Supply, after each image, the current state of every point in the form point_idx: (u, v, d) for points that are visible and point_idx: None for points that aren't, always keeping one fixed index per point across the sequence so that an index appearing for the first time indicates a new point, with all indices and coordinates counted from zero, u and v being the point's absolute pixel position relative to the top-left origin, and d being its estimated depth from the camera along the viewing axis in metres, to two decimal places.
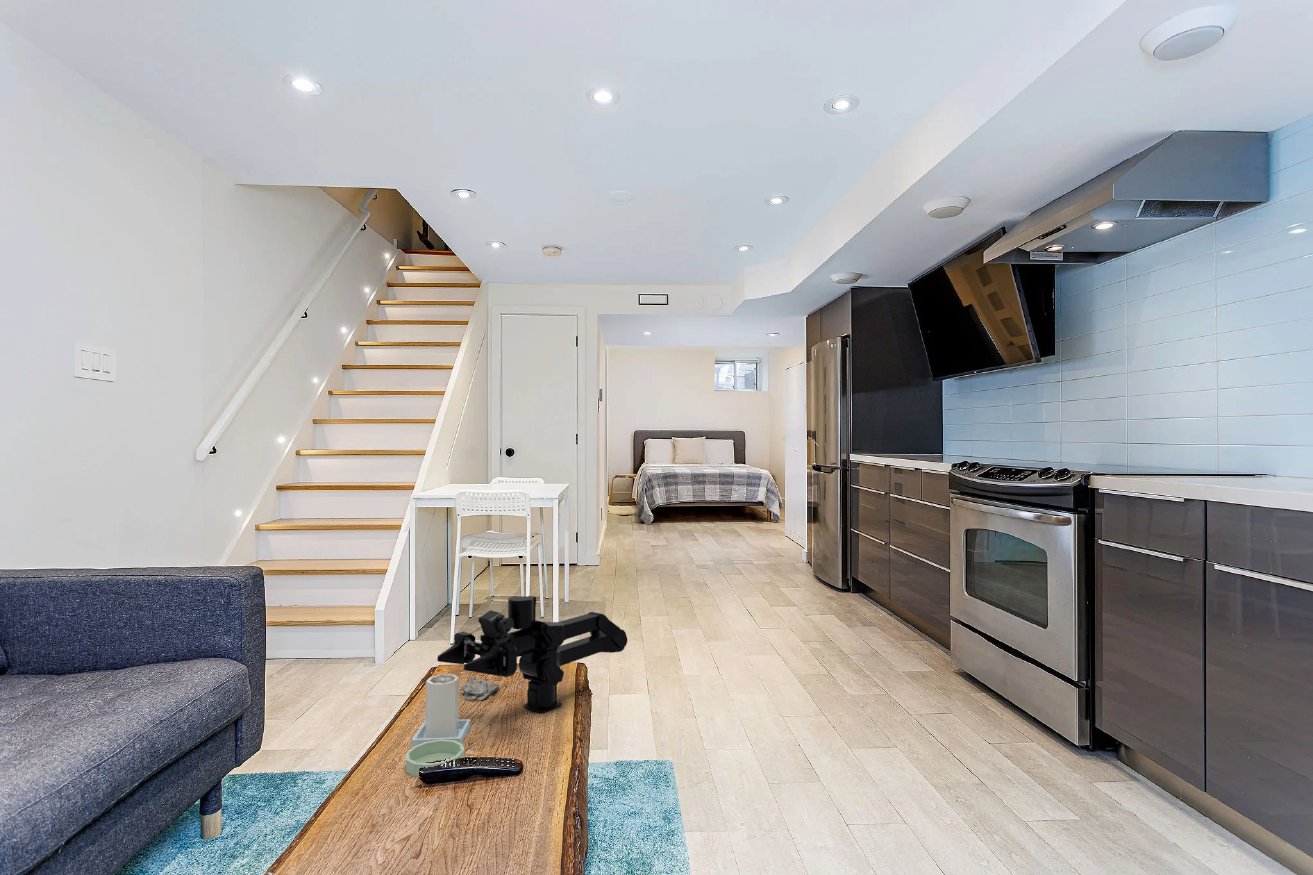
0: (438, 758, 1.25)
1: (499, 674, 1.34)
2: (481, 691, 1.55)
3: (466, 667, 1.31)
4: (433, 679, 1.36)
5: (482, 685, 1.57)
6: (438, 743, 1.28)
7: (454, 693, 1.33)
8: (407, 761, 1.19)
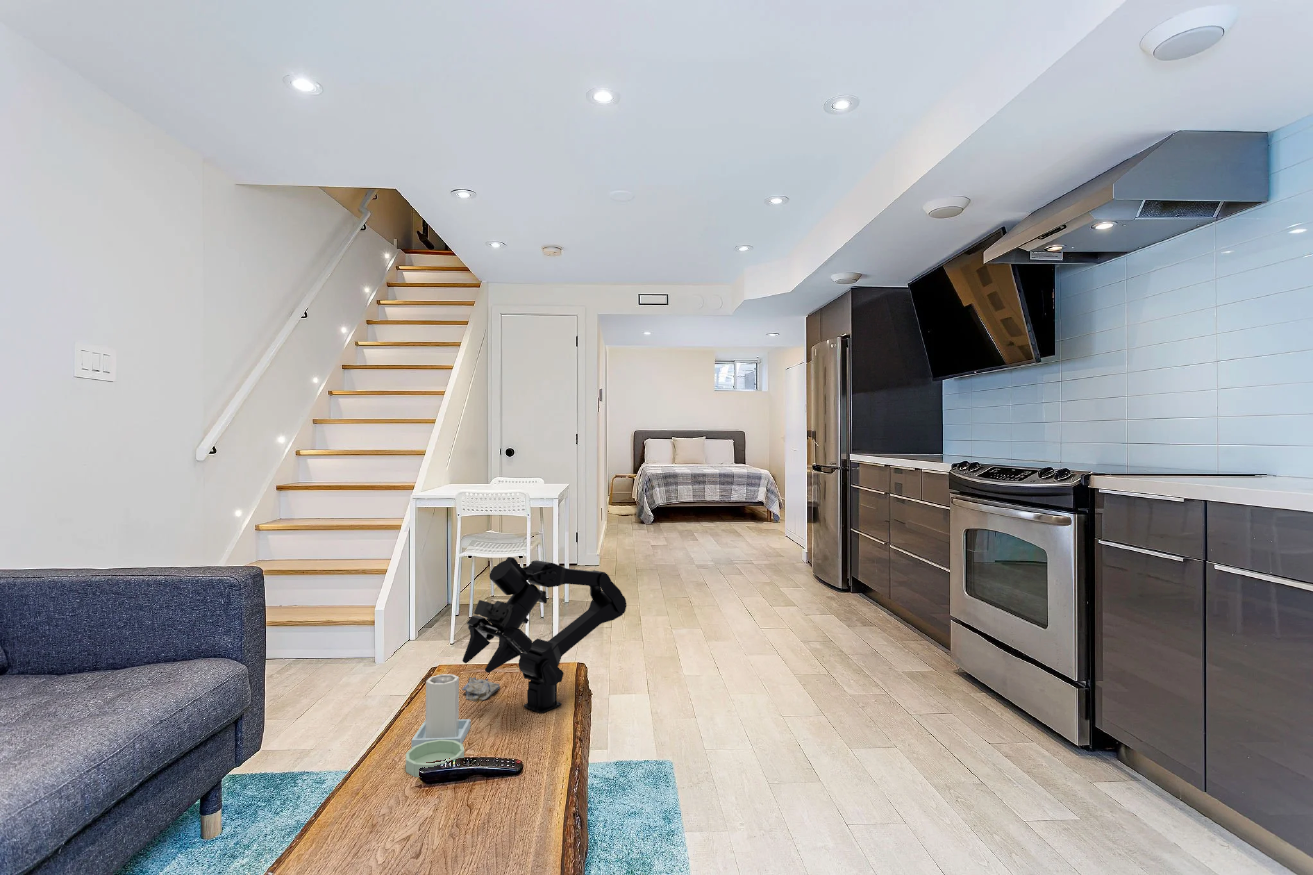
0: (438, 758, 1.25)
1: (519, 654, 1.40)
2: (483, 691, 1.55)
3: (488, 670, 1.37)
4: (433, 679, 1.36)
5: (484, 685, 1.57)
6: (438, 743, 1.28)
7: (454, 693, 1.33)
8: (407, 761, 1.19)
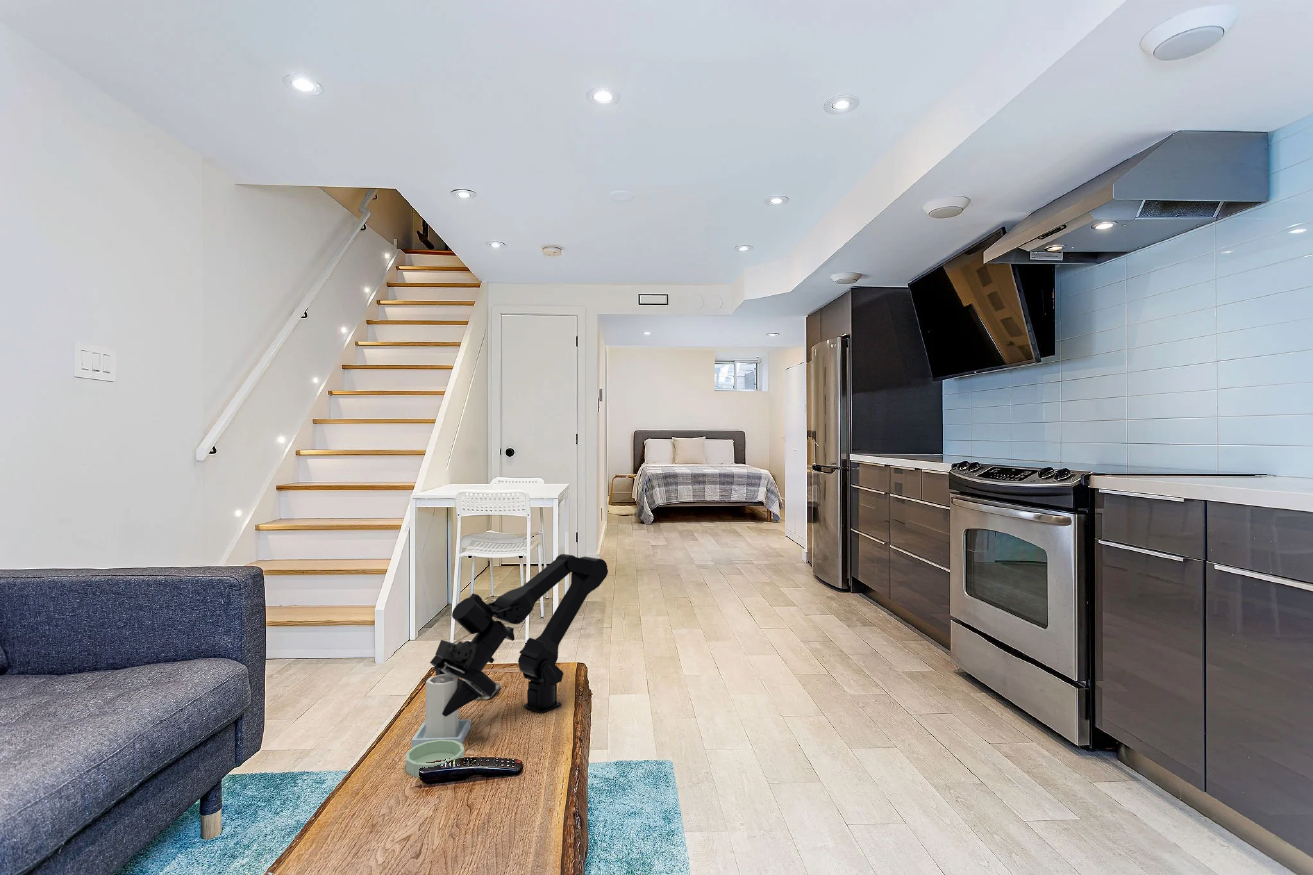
0: (438, 758, 1.25)
1: (479, 696, 1.34)
2: None
3: (445, 713, 1.31)
4: (433, 679, 1.36)
5: None
6: (438, 743, 1.28)
7: None
8: (407, 761, 1.19)
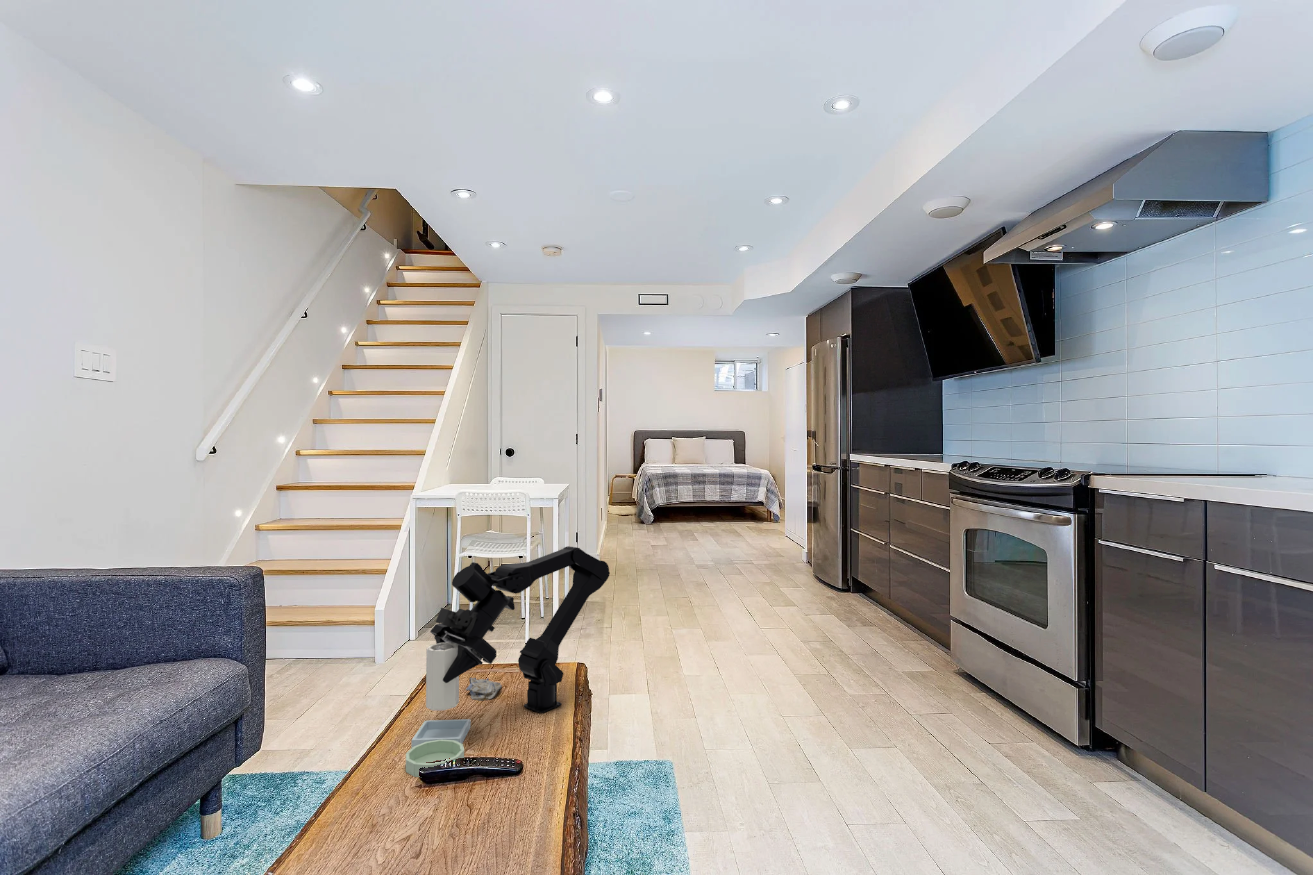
0: (438, 758, 1.25)
1: (479, 663, 1.34)
2: (489, 690, 1.56)
3: (446, 680, 1.32)
4: (433, 647, 1.36)
5: (489, 684, 1.58)
6: (438, 743, 1.28)
7: None
8: (407, 761, 1.19)
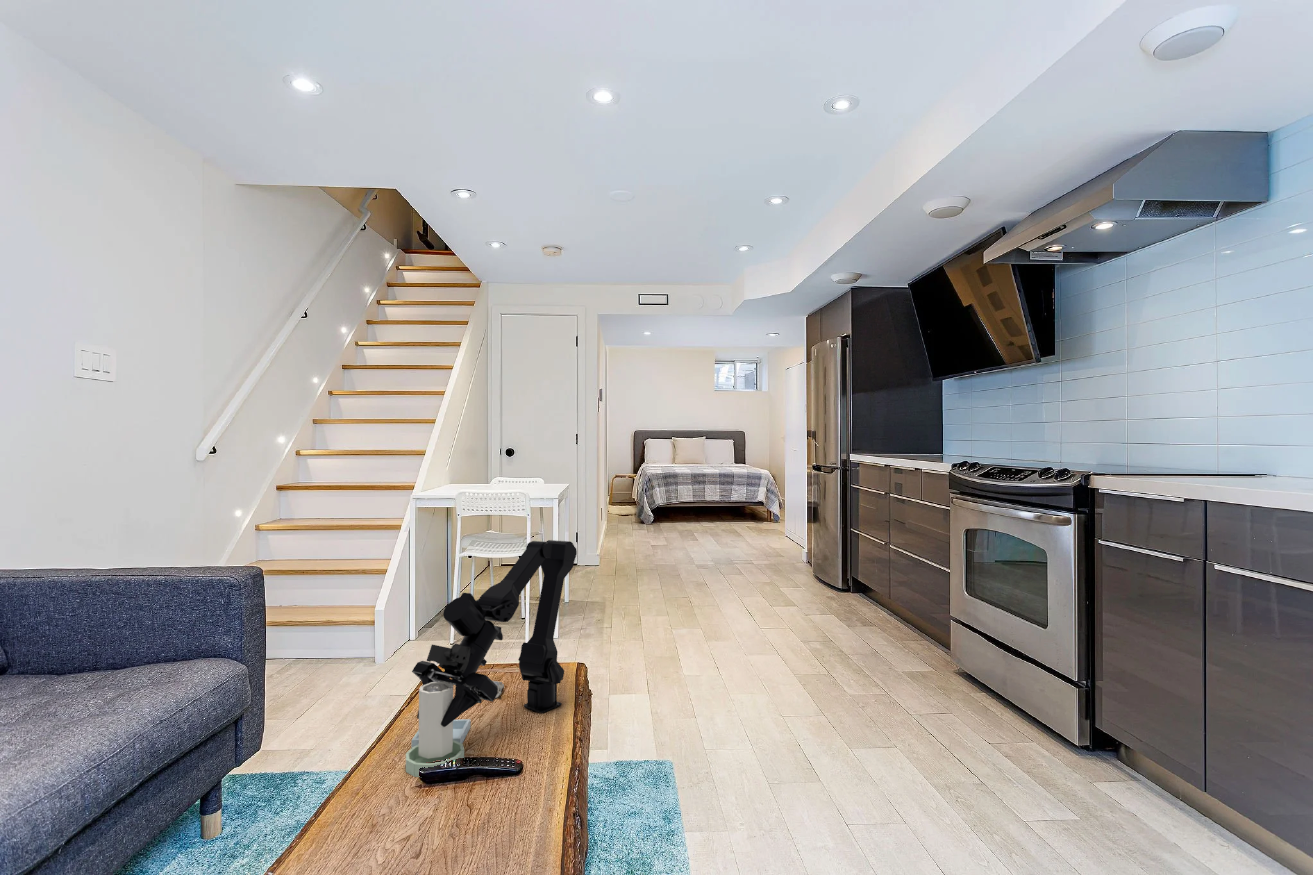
0: (438, 758, 1.25)
1: (479, 702, 1.25)
2: None
3: (444, 723, 1.21)
4: (424, 688, 1.24)
5: None
6: None
7: (451, 701, 1.23)
8: (407, 761, 1.19)
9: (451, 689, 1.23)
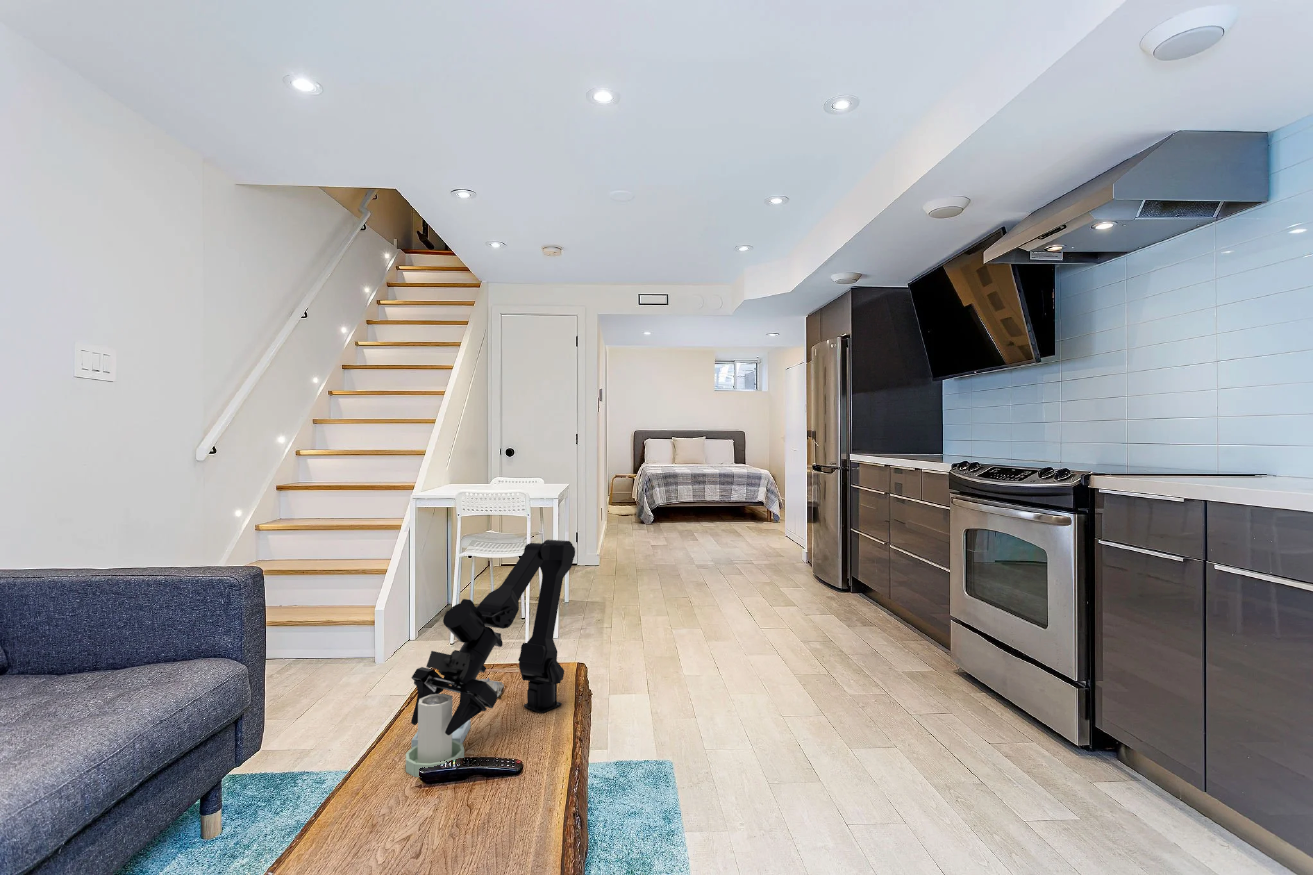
0: None
1: (483, 710, 1.24)
2: (495, 689, 1.57)
3: (448, 732, 1.20)
4: (423, 700, 1.24)
5: (494, 683, 1.59)
6: None
7: (450, 713, 1.23)
8: (407, 761, 1.19)
9: (450, 702, 1.23)
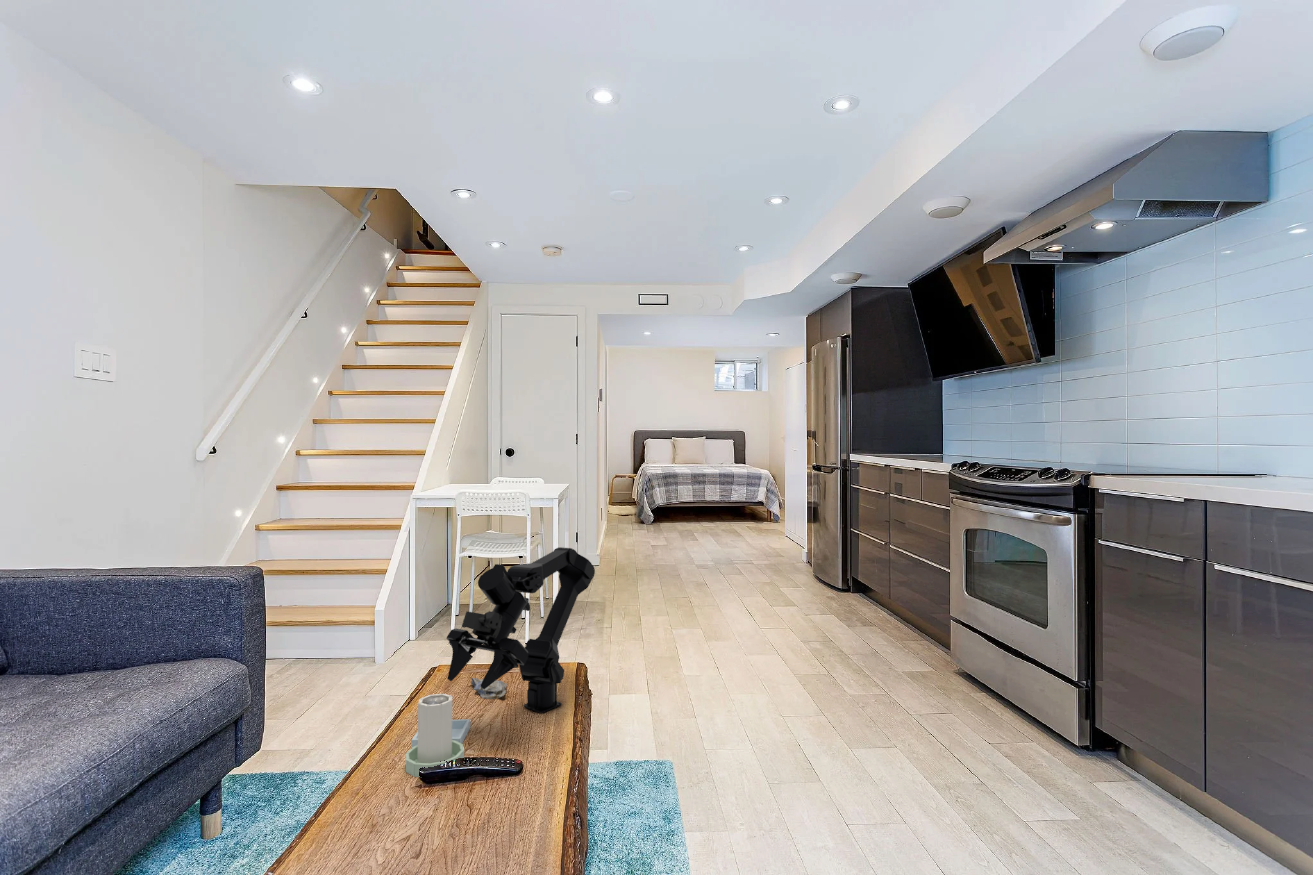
0: None
1: (515, 666, 1.32)
2: (500, 688, 1.57)
3: (484, 685, 1.28)
4: (423, 700, 1.24)
5: (498, 682, 1.59)
6: None
7: (450, 713, 1.23)
8: (407, 761, 1.19)
9: (450, 702, 1.23)
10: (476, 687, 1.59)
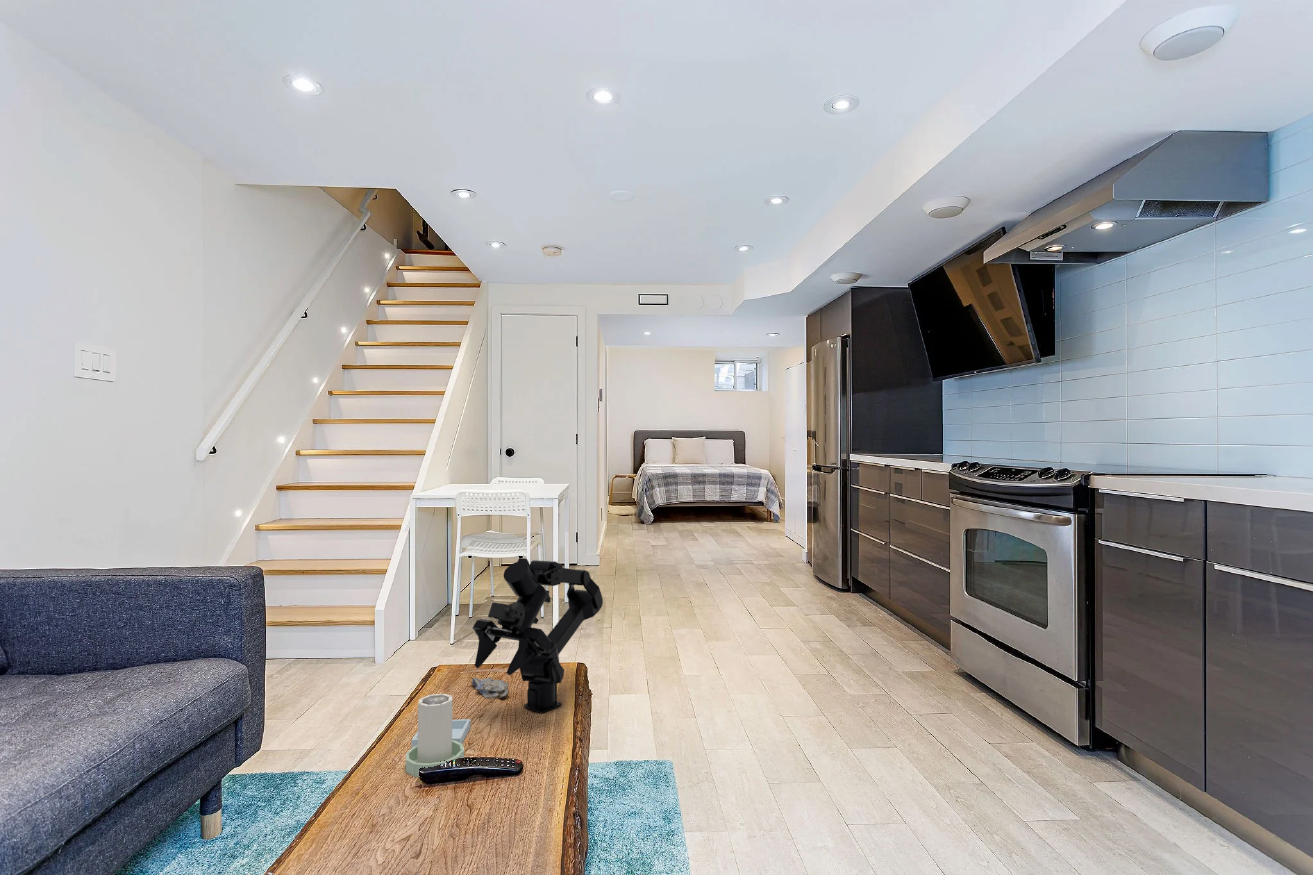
0: None
1: (539, 654, 1.39)
2: (502, 687, 1.58)
3: (509, 672, 1.36)
4: (423, 700, 1.24)
5: (500, 682, 1.59)
6: None
7: (450, 713, 1.23)
8: (407, 761, 1.19)
9: (450, 702, 1.23)
10: (478, 687, 1.59)
